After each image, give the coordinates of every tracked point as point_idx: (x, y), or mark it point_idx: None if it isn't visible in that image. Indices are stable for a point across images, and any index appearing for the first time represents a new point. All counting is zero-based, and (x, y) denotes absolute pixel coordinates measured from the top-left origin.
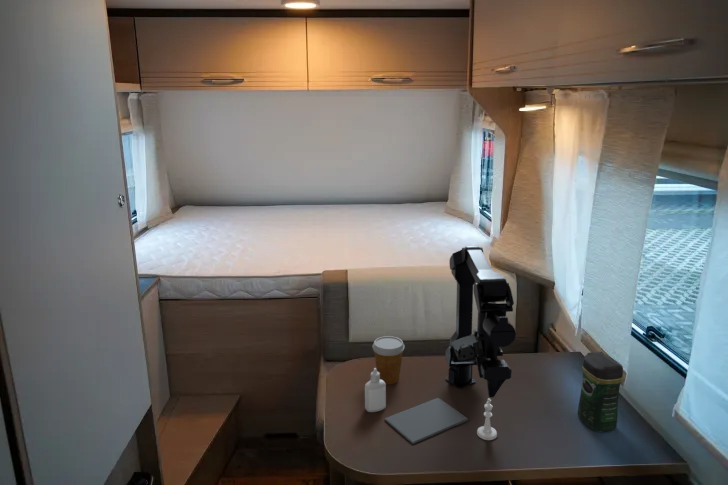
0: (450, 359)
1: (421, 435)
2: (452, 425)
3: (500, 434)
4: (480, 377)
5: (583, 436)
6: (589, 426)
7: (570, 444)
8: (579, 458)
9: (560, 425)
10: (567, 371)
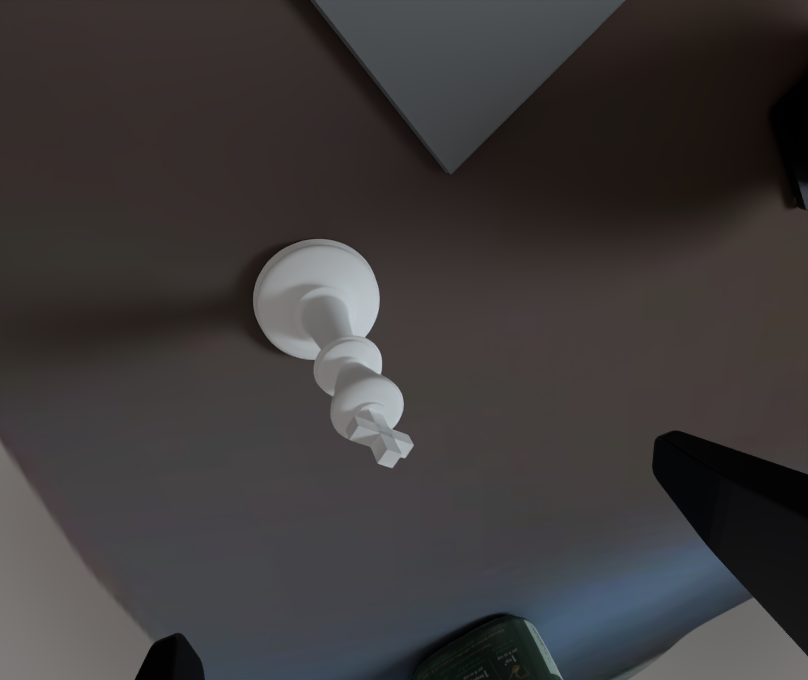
0: None
1: None
2: (355, 53)
3: None
4: (657, 443)
5: (383, 644)
6: (430, 667)
7: (318, 623)
8: (226, 662)
9: (445, 575)
10: None
